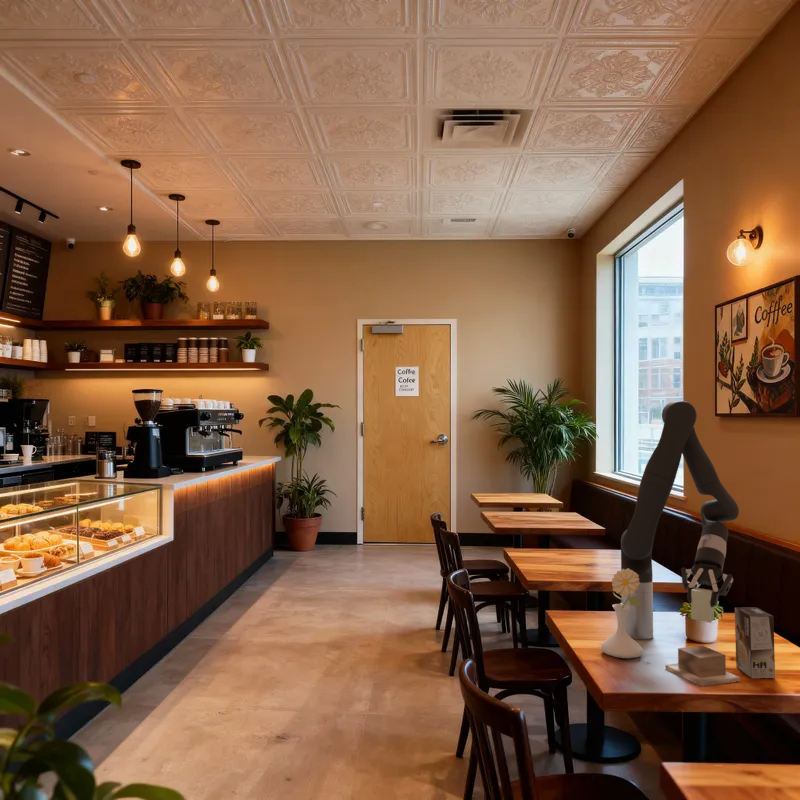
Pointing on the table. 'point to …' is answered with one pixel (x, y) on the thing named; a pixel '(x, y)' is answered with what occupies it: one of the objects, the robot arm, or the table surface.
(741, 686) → the table surface
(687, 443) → the robot arm
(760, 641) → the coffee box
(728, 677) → the tower base
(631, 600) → the flower in vase
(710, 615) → the sage brick
